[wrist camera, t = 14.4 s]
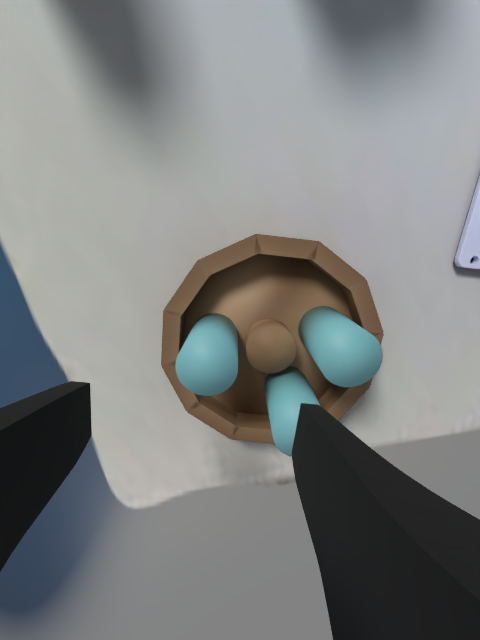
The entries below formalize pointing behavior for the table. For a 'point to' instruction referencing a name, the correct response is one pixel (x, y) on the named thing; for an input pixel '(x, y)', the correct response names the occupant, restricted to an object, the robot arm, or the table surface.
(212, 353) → the teal egg
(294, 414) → the teal tapered egg
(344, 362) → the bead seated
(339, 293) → the groove tray
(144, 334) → the table surface
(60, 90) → the table surface
